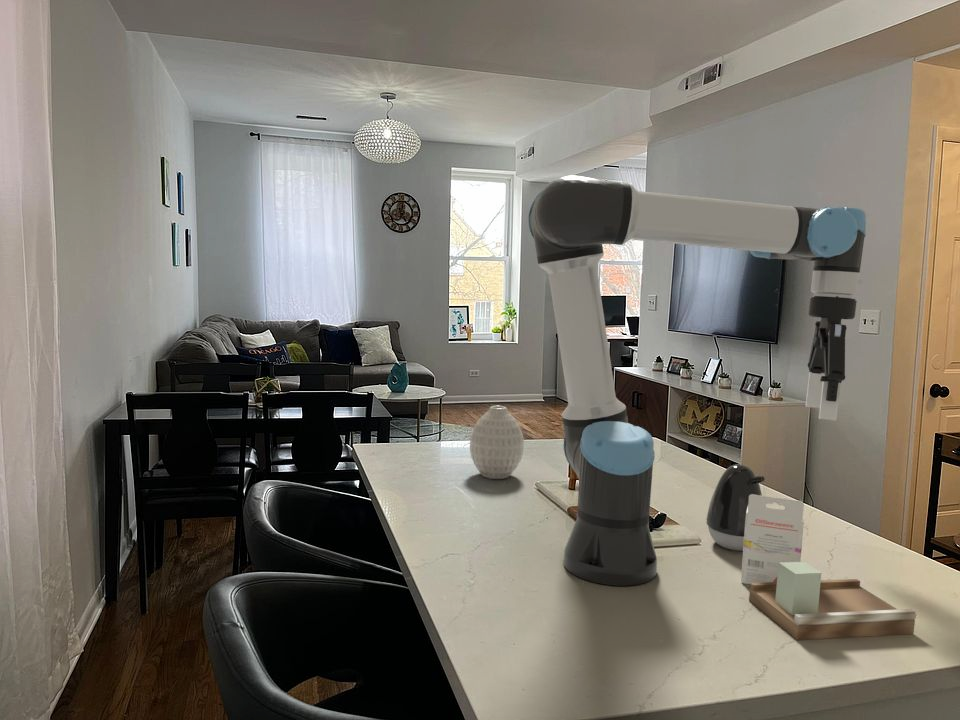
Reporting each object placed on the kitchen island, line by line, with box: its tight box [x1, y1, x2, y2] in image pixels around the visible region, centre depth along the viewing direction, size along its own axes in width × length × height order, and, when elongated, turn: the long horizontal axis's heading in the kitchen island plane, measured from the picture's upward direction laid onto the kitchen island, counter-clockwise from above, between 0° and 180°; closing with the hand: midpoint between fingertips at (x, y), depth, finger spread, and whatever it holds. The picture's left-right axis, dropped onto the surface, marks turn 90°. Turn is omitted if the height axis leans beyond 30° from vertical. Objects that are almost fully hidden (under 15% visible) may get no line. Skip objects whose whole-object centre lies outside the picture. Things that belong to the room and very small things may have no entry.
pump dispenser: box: [705, 463, 766, 552], centre depth 132 cm, size 10×10×15 cm
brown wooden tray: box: [748, 578, 917, 641], centre depth 105 cm, size 18×12×3 cm
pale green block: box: [775, 561, 822, 615], centre depth 103 cm, size 4×4×6 cm
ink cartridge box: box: [740, 494, 805, 586], centre depth 116 cm, size 9×5×15 cm, turn 68°
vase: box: [469, 405, 525, 480], centre depth 173 cm, size 13×13×17 cm
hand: (820, 413), depth 132 cm, fingers open, 13 cm apart
